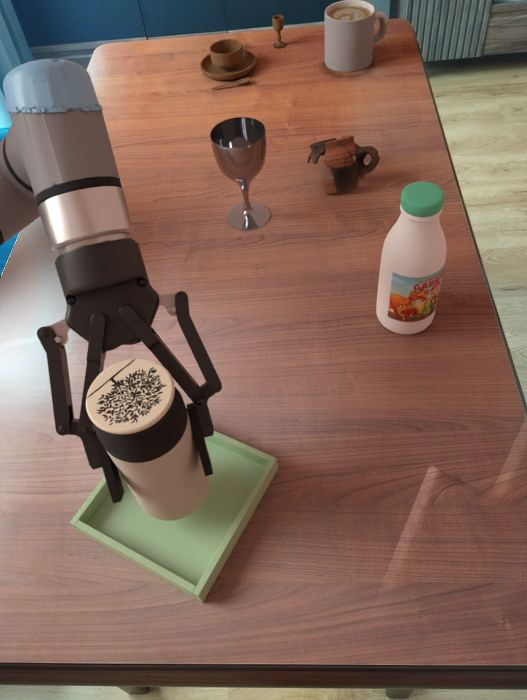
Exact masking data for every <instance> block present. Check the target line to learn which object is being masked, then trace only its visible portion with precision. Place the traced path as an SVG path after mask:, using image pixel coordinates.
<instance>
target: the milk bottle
mask: <svg viewBox="0 0 527 700" xmlns="http://www.w3.org/2000/svg"><path fill="white" fill-rule="evenodd" d="M444 202H445V191H444V190H443V189H442V187H440V185H438V184H436V183H434V182H430V181H426V180H425V181H421V180H420V181H415V182H411V183H409V184H407V185H406V186H404V188H403V189H402V192H401V196H400V204H399V211H400V214H399V217H398V219H397V220H396V222H395V223H394V224H393V226H392V227H391V229H390V230H389V231H388V233H387V235H386V237H385V239H384V242H383V245H382V250H381V258H380V263H379V264H380V265H379V273H378V274H379V275H378V284H377V291H376V293H377V294H376V305H375V307H376V308H375V314H376V317H377V319H378V322H379V323H380V324H381V325H382V326H383V327H384V328H385V329H386V330H388V331H390V332H392V333H395V334H398V335H399V334H400V335H415V334H418V333H420V332H422V331H424V330H426V329H427V328H428V327H429V326H430V325H431V324H432V322H433V321H434V317H435V315H436V311H437V310H436V309H437V305H438V302H439V301H438V300H439V296H440V291H441V286H442V281H443V277H444V271H445V267H446V260H447V252H448V251H447V247H448V246H447V240H446V236H445V234H444V233H445V232H444V231H443V228H442V225H441V221H440V215H441V214H442V213H443V207H444Z"/></svg>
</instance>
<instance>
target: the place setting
mask: <svg viewBox="0 0 527 700" xmlns="http://www.w3.org/2000/svg"><path fill="white" fill-rule="evenodd" d="M271 18H272V19H271V20H272V21H271V22H272V23H271V24H272V29H273V30H274V31H275V32H276V40H277V41H275V42H274V43H273V44H272V46H273V48H276V49H282V48H284V47H286V41H282V35H281V34H282V33H281V31H283V30H284V27H285V26H284V25H285V23H284V22H285V21H284V19H285V18H284V15H282V14H275V15H273V16H272V17H271ZM248 47H249V42H248V43H244V44H243V43H242V42H241V41H240V40H238V39H234V38H223V39H220V40H217V41H214V42H213V43H212V44H210V45H209V53H206V55H205V56H204V57H203V58H202V59H201V61H200V63H199V68H200V70H201V72H202V74H203V75H204V76H206V77H207V78H209V79H212V80H214V81H215V80H216V81H223V82H225V81H233V80H236V81H233V82H229V83H225V84H221V85H217V86H213V87H211V88H210V89H211V90H215V89H216V90H217V89H220V88H223V87H227V86H231V85H244V84H247V83H250V82H251V80H252V78H251V77H245V76H246V75H248V74H249V73H251V71H252V70H253V69H254V68H255V66H256V56H255V54H254V53H253V52H251V51H250V50H247V49H246V48H248ZM242 77H243V78H242Z"/></svg>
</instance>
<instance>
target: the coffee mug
mask: <svg viewBox="0 0 527 700" xmlns="http://www.w3.org/2000/svg"><path fill="white" fill-rule="evenodd" d="M377 20H378V22H379V28H378V30H377V32H376V33H375V22H376V21H377ZM387 30H388V18H387V15H386V13H384V12H383V11H380V10H379V11H376V8H375V6H374V4H372V3H370V2H368V1H366V0H340V1H336V2H333V3H331V4H329V5H328V6H327V7H326V8H325V10H324V65H325V66H326V67H327V68H328V69H330V71H331V70H332V71H335V72H338V73H354V72H359V71H361V70H364V69H366V68H368V67H369V66H371V64H372V61H373V51H374V49H373V48H374V46H375V45H376V44H378V43H379V42H380V41H382V40H383V39H384V38H385V35H386V34H387ZM374 33H375V34H374Z"/></svg>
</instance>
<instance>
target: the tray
mask: <svg viewBox="0 0 527 700" xmlns="http://www.w3.org/2000/svg"><path fill="white" fill-rule="evenodd" d="M204 439H205V443H206V446H207V450H208V453H209V457H210V461H211V464H212V469H213V474H212V475H210V489H209V492H208V495H207V497H206V499H205V501H204V502H203V504H202V505H201V506H200V507H199V508H198V509H197V510H196V511H195V512H193V513H192V514H190V515H189V516H187V517H184V518H182V519H178V520H173V521H164V520H159V519H156V518H154V517H152V516H150V515H148V514H147V513H146V512H145V511H144V510H143V509H142V507H141V506H140V504H139V502H138V501H137V499H136V498H135V496H134V494H133V493H132V491H131V489H130V488H129V486H128V485H127V483H126V481H125V480H124V478H123V477H122V475H121V473H120V472H119V470H118V472H119V475H120V479H121V482H122V485H123V489H124V494H123V497H122V500H121V501H120V502H117V503H113V502H112V498H111V495H110V492H109V488H108V485H107V482H106V479H105V475H104V476H103V477H102V479H101V480H100V481H99V482H98V484H97V485H96V487H94V489H93V491H92V492H91V493H90V494H89V496H88V497H87V498H86V500H85V501H84V503H83V504H82V505H81V506H80V508H79V510H78V511H77V512H76V514H75V515H73V517H72V519H71V520H70V522H69V524H71V526H72V527H73V528H74V530H76V531H77V532H78V533H79V534H82V535H83V536H85V537H86V538H88V539H90V540H92V541H93V542H95V543H97V544H98V545H101V546H102V547H104V548H106V549H107V550H109V551H111V552H113V553H114V554H116V555H118V556H120V557H121V558H123V559H125V560H127V561H129V562H130V563H132V564H133V565H136V566H137V567H139V568H141V569H142V570H144V571H145V572H148V573H149V574H151V575H153V576H155V577H157V578H158V579H160V580H162V581H163V582H165V583H167V584H169V585H171V586H172V587H174V588H175V589H177V590H179V591H181V592H183V593H184V594H185V595H188V596H190V597H191V598H193V599H195V600H197V601H198V602H200V603H202V604H203V603H204V602H205V600H206V598H207V596H208V594H209V593H210V591H211V589H212V587H213V585H214V584H215V582H216V580H217V578H218V577H219V575H220V573H221V572H222V570H223V568H224V566H225V564H226V563H227V561H228V559H229V557H230V556H231V553H232V552H233V550H234V548H235V547H236V545H237V543H238V541H239V539H240V538H241V536H242V534H243V533H244V531H245V528H246V527H247V526H248V523H249V522H250V520H251V519H252V517H253V515H254V513H255V511H256V509H257V508H258V505H259V504H260V502H261V501H262V499H263V497H264V495H265V493H266V491H267V489H268V488H269V487H270V484H271V483H272V481H273V479H274V477H275V475H276V474H277V472H278V470H279V462H278V458H277V457H275V456H272V455H271V454H268V453H266V452H264V451H261V450H259V449H258V448H255V447H252V446H250V445H248V444H246V443H244V442H241V441H240V440H237V439H234V438H232V437H230V436H228V435H225V434H223V433H222V432H218V431H216V430H214V434H213V436H209V437H206V438H204Z"/></svg>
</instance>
